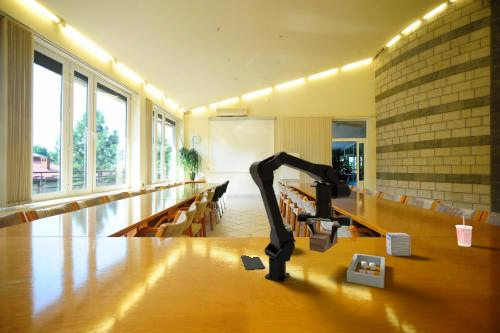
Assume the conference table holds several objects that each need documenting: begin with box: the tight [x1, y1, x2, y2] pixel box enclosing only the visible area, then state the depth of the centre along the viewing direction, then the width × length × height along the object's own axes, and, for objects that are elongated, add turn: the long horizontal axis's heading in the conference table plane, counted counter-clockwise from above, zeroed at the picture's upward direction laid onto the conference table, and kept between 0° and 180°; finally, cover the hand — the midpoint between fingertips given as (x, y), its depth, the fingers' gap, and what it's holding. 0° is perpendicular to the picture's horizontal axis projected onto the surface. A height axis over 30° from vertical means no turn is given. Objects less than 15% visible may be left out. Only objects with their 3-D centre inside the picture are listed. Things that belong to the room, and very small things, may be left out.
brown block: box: [308, 228, 339, 254], centre depth 91 cm, size 15×5×4 cm, turn 144°
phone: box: [240, 254, 266, 271], centre depth 97 cm, size 7×1×15 cm
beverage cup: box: [455, 215, 473, 248], centre depth 120 cm, size 6×6×14 cm
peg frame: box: [346, 253, 386, 289], centre depth 87 cm, size 21×10×3 cm, turn 151°
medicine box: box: [385, 232, 412, 257], centre depth 106 cm, size 8×4×9 cm, turn 84°
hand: (324, 242), depth 91 cm, fingers closed on brown block, 5 cm apart
